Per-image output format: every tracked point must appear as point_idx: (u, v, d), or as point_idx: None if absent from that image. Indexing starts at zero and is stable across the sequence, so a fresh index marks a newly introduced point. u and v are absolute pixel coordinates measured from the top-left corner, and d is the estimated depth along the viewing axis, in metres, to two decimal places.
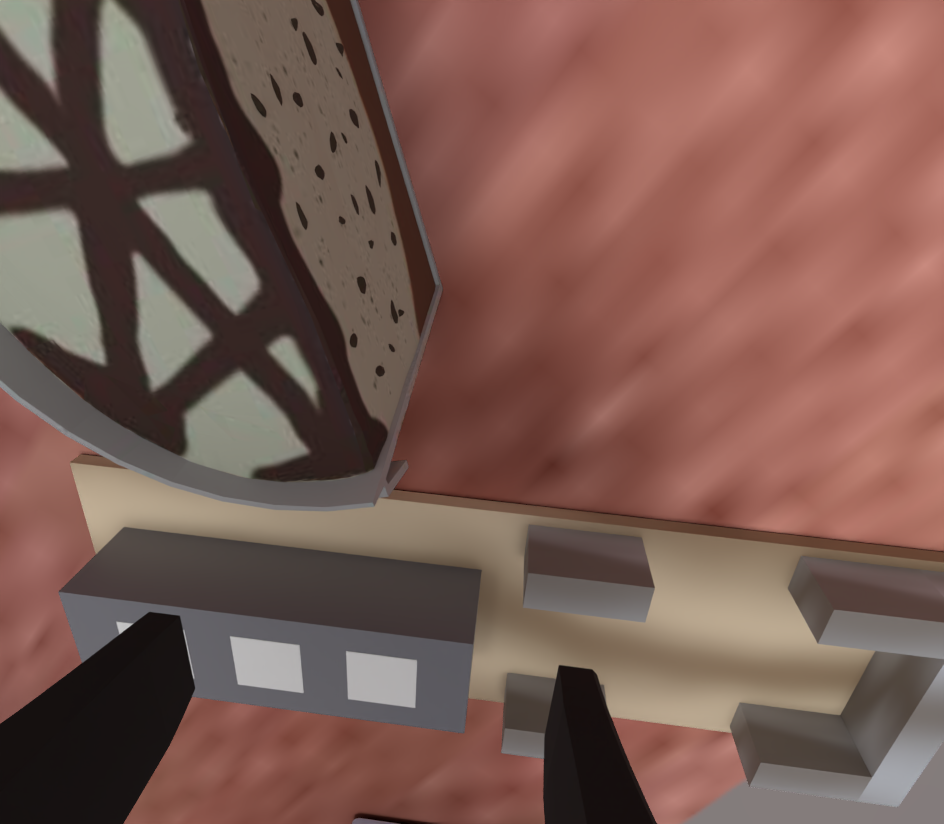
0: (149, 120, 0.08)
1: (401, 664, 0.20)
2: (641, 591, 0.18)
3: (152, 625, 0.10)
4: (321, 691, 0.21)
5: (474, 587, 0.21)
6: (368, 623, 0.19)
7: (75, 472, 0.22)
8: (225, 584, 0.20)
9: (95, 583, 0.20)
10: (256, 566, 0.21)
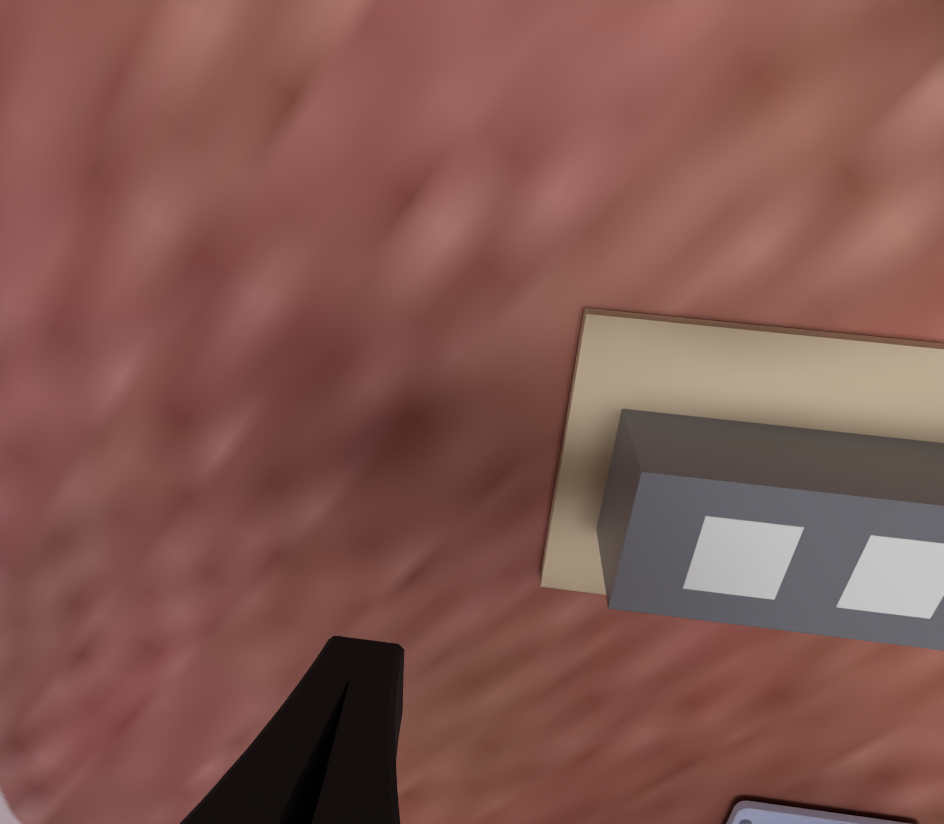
0: None
1: None
2: None
3: (344, 650, 0.10)
4: None
5: None
6: None
7: (588, 328, 0.16)
8: (836, 468, 0.15)
9: (674, 464, 0.15)
10: (843, 451, 0.16)
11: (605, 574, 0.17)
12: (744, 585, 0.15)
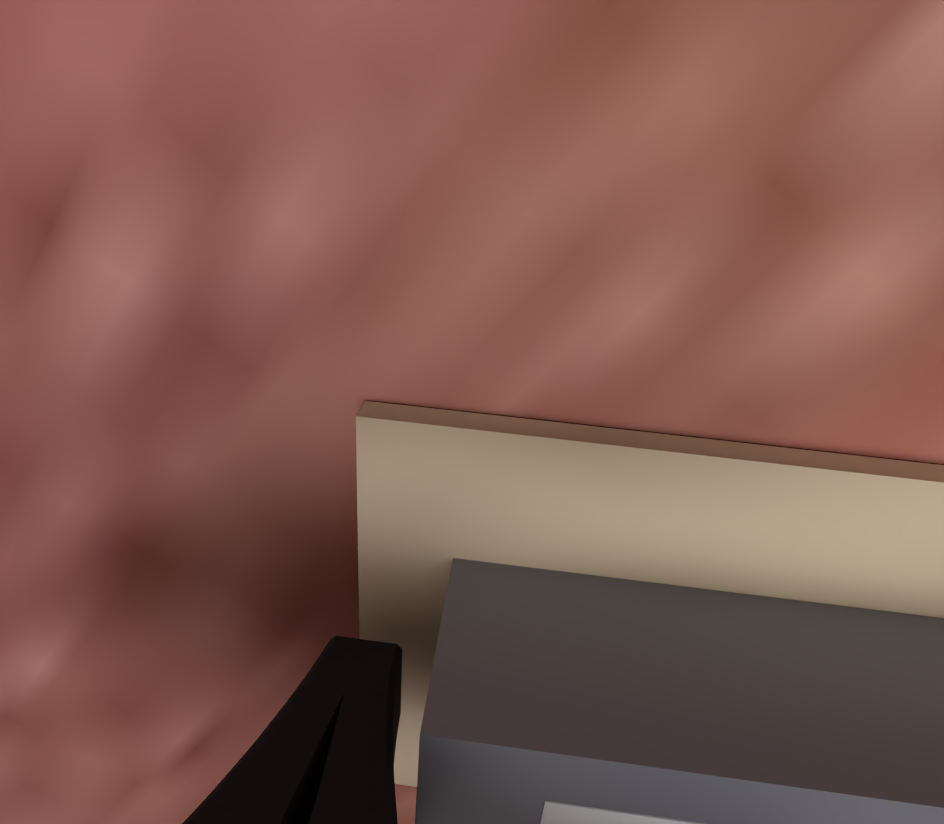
0: None
1: None
2: None
3: (346, 650, 0.10)
4: None
5: None
6: None
7: (363, 439, 0.10)
8: (784, 703, 0.09)
9: (491, 706, 0.08)
10: (800, 653, 0.09)
11: None
12: None
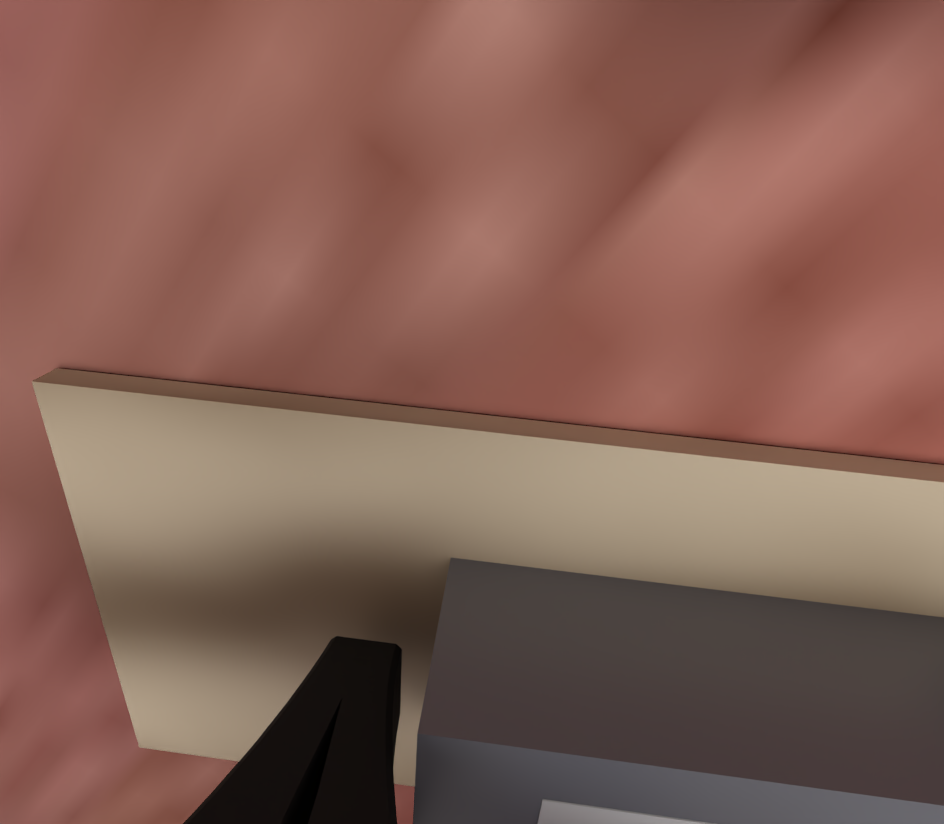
0: None
1: None
2: None
3: (346, 650, 0.10)
4: None
5: None
6: None
7: (44, 404, 0.10)
8: (780, 701, 0.09)
9: (488, 705, 0.08)
10: (797, 651, 0.09)
11: None
12: None
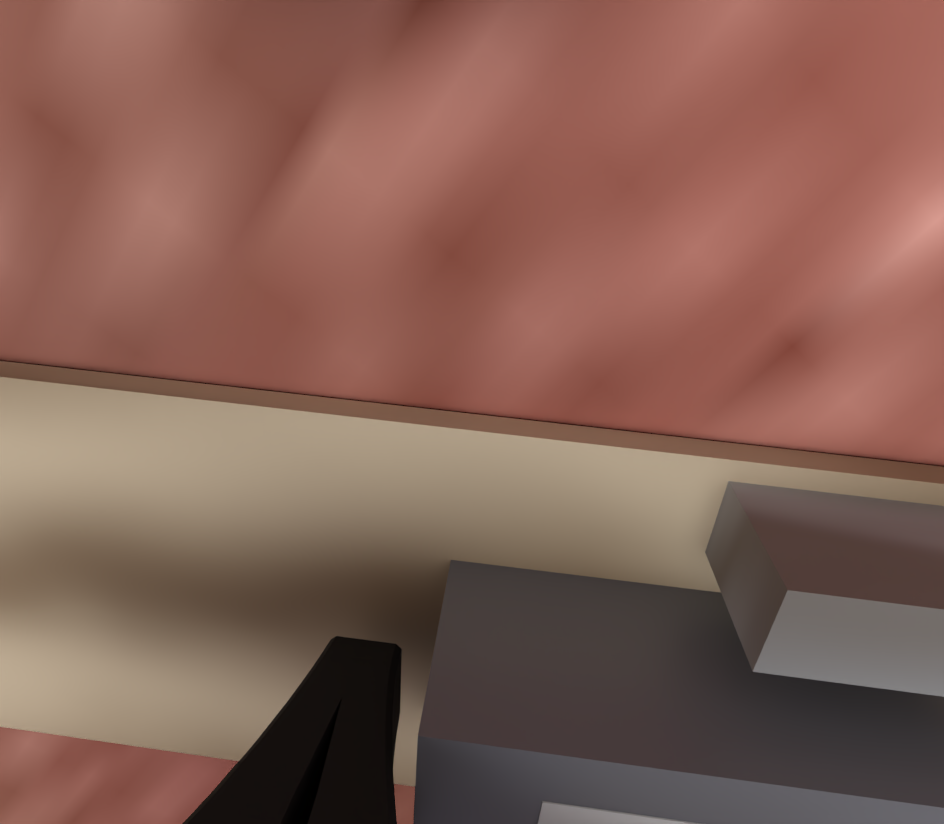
0: None
1: None
2: None
3: (346, 650, 0.10)
4: None
5: None
6: None
7: None
8: (779, 704, 0.09)
9: (488, 707, 0.08)
10: None
11: None
12: None
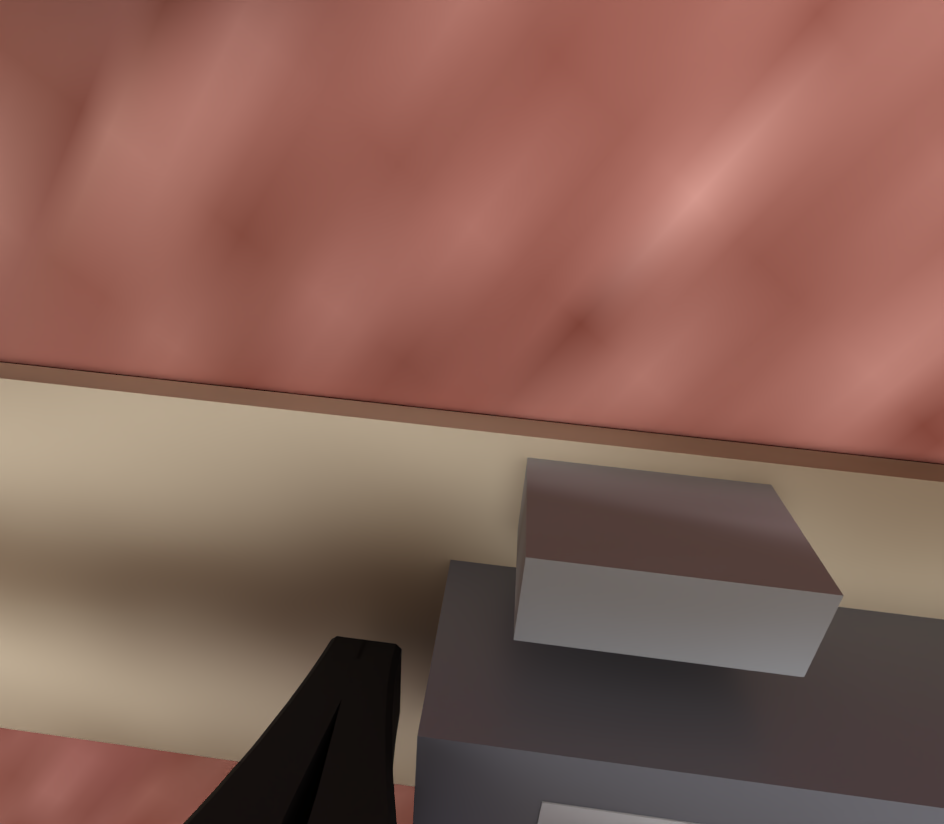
0: None
1: None
2: (808, 603, 0.07)
3: (347, 650, 0.10)
4: None
5: None
6: None
7: None
8: (779, 704, 0.09)
9: (488, 707, 0.08)
10: None
11: None
12: None
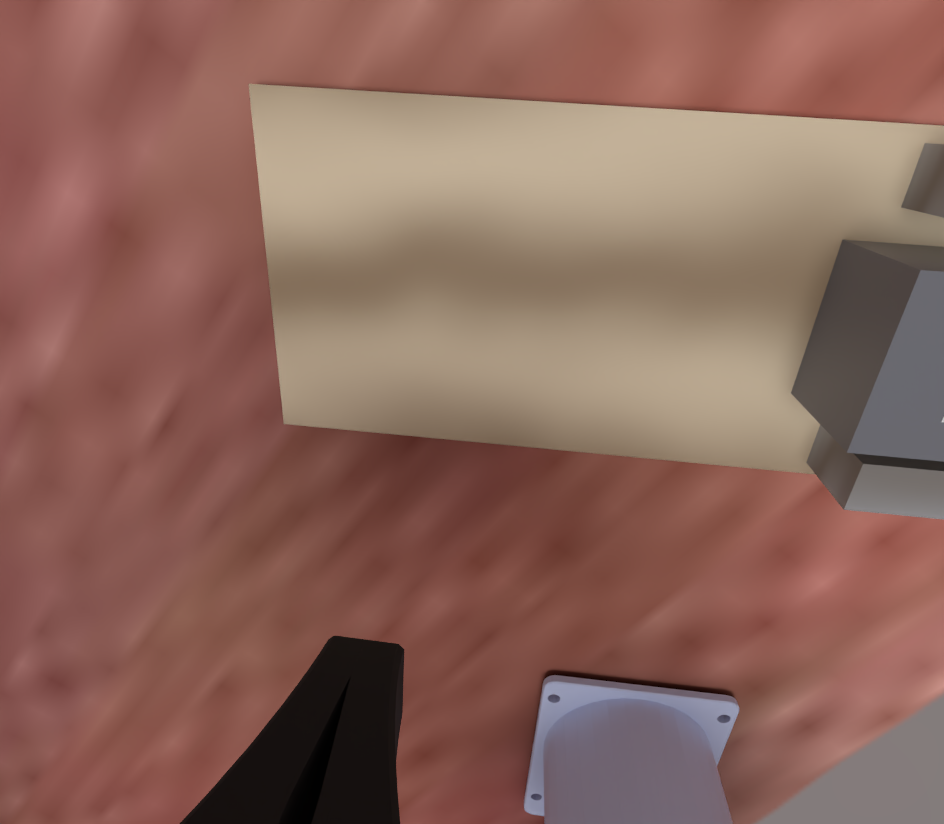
0: None
1: None
2: None
3: (344, 650, 0.10)
4: None
5: None
6: None
7: (254, 102, 0.15)
8: None
9: None
10: None
11: (830, 423, 0.15)
12: None
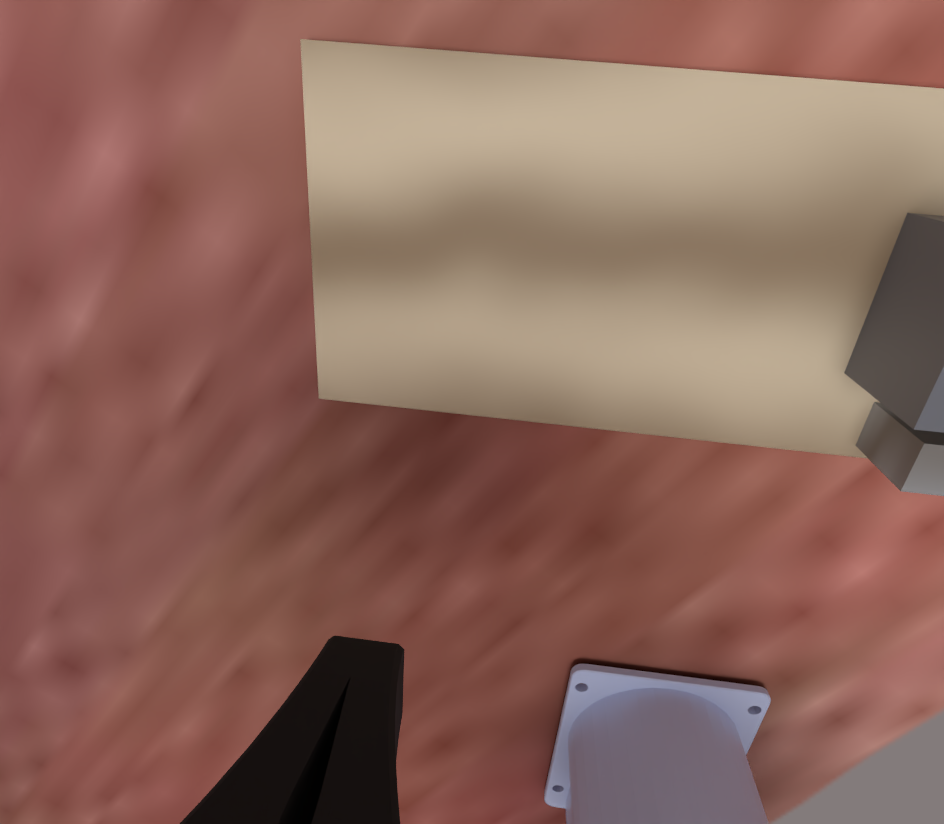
0: None
1: None
2: None
3: (344, 650, 0.10)
4: None
5: None
6: None
7: (306, 58, 0.15)
8: None
9: None
10: None
11: (893, 400, 0.15)
12: None
